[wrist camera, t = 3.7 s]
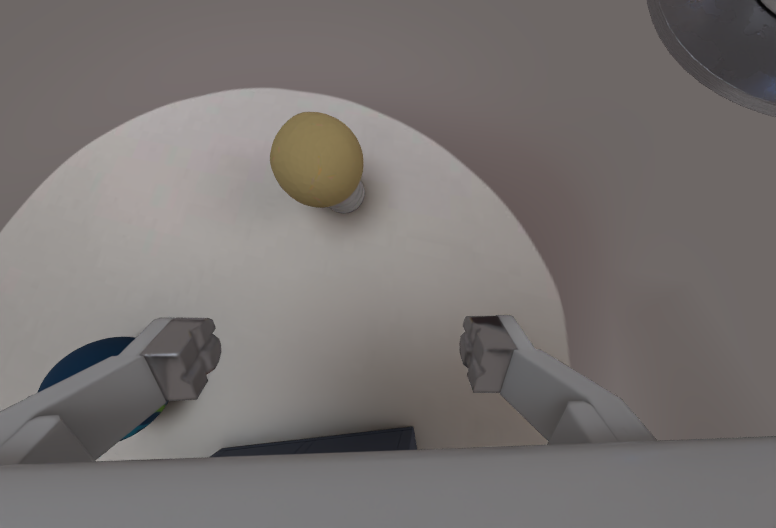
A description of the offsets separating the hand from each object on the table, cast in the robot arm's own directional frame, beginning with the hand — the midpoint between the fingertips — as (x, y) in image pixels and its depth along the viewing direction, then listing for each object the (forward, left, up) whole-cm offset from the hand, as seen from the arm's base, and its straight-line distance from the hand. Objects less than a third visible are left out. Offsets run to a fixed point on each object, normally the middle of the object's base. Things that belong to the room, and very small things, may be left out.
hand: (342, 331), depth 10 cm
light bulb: (+3, -12, -17) cm, 21 cm away
